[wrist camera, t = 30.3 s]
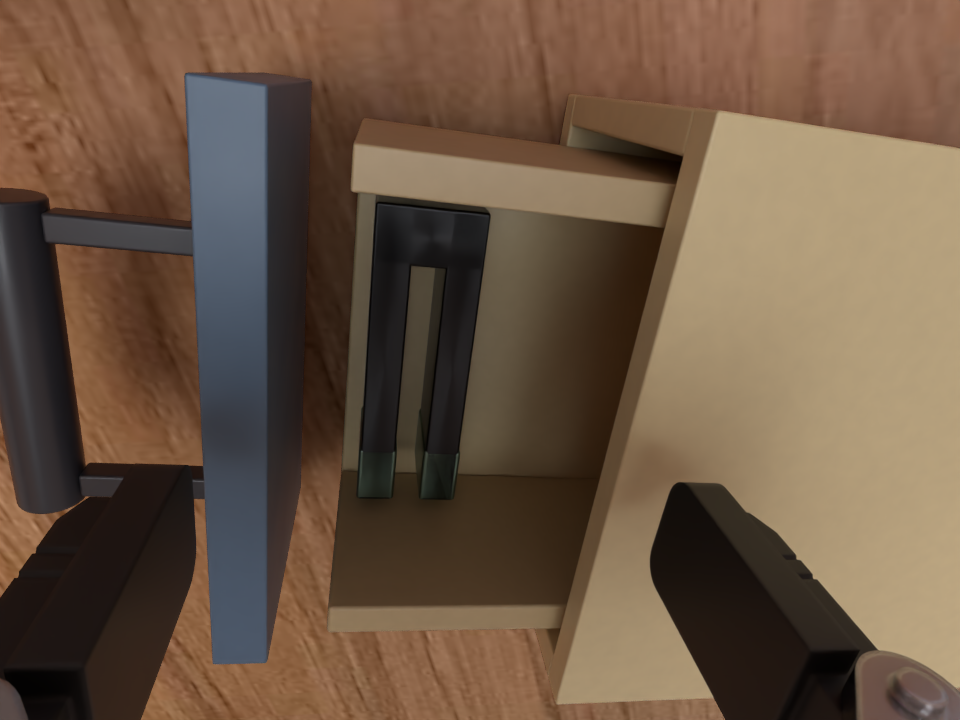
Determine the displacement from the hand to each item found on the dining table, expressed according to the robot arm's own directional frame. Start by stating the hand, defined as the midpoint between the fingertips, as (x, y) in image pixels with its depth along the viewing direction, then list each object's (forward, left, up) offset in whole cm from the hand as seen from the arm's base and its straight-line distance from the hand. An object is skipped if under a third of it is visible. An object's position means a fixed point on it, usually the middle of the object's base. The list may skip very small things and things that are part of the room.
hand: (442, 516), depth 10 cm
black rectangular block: (0, 0, -8) cm, 8 cm away
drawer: (0, -1, -9) cm, 9 cm away
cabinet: (0, -12, -10) cm, 16 cm away
